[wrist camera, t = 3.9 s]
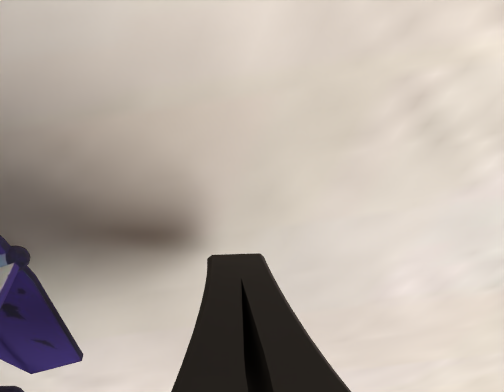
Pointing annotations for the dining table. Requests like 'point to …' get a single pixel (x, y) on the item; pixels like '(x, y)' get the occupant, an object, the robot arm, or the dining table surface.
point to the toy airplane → (29, 319)
